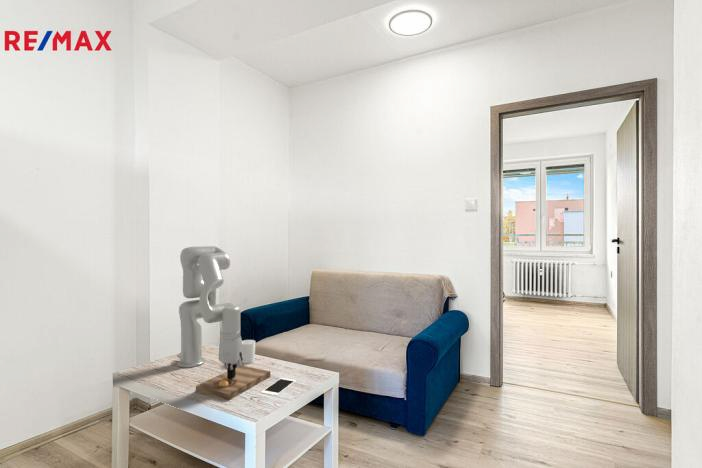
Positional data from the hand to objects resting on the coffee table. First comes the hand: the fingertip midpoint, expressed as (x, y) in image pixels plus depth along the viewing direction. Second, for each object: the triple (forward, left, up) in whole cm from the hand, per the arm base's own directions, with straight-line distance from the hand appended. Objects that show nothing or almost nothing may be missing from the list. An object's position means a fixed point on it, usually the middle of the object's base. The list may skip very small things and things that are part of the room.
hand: (231, 377), depth 154 cm
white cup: (-14, +26, -4) cm, 30 cm away
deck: (0, +2, -3) cm, 4 cm away
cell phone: (+19, +8, -4) cm, 21 cm away
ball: (0, -4, -1) cm, 5 cm away
